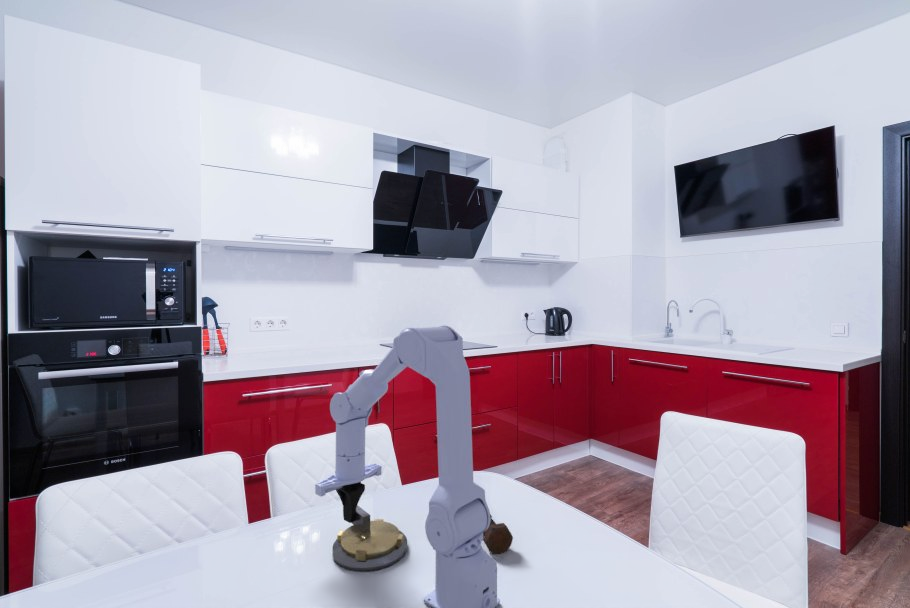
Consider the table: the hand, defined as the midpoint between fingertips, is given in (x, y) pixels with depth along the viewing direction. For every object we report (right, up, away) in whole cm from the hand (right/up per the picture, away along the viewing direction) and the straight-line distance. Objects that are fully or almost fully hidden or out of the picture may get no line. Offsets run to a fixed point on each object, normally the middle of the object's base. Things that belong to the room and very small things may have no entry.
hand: (349, 520), depth 89 cm
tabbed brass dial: (+5, -2, -4) cm, 6 cm away
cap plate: (+5, -4, -4) cm, 7 cm away
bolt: (+27, -5, +3) cm, 28 cm away
